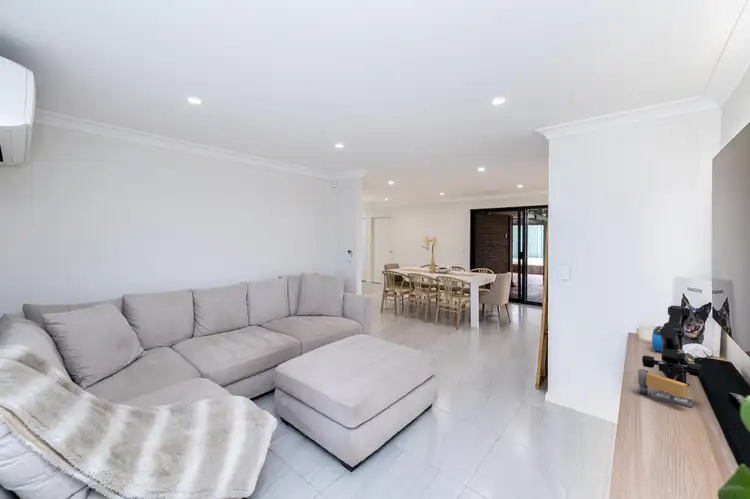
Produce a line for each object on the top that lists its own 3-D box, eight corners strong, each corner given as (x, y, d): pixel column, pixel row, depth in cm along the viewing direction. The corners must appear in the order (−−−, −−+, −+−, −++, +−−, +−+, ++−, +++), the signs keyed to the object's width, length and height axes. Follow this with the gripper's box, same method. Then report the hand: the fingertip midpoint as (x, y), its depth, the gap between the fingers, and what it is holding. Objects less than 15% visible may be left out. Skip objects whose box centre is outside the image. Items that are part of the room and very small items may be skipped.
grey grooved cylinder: (645, 392, 145) (645, 383, 145) (649, 395, 142) (649, 386, 142) (637, 392, 145) (637, 383, 145) (641, 395, 142) (641, 386, 142)
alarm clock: (665, 355, 192) (664, 329, 192) (651, 352, 197) (651, 328, 197) (668, 350, 201) (668, 326, 201) (655, 347, 205) (655, 324, 205)
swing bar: (636, 383, 145) (636, 370, 145) (641, 382, 146) (641, 368, 146) (682, 399, 129) (682, 384, 129) (688, 398, 130) (687, 383, 130)
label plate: (651, 398, 139) (651, 395, 139) (653, 393, 144) (652, 390, 144) (692, 408, 130) (692, 404, 130) (692, 402, 135) (692, 398, 135)
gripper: (642, 337, 146) (640, 368, 138) (700, 345, 133) (702, 380, 125) (644, 350, 152) (642, 381, 144) (700, 359, 139) (701, 393, 131)
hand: (670, 383), depth 136 cm, fingers closed
